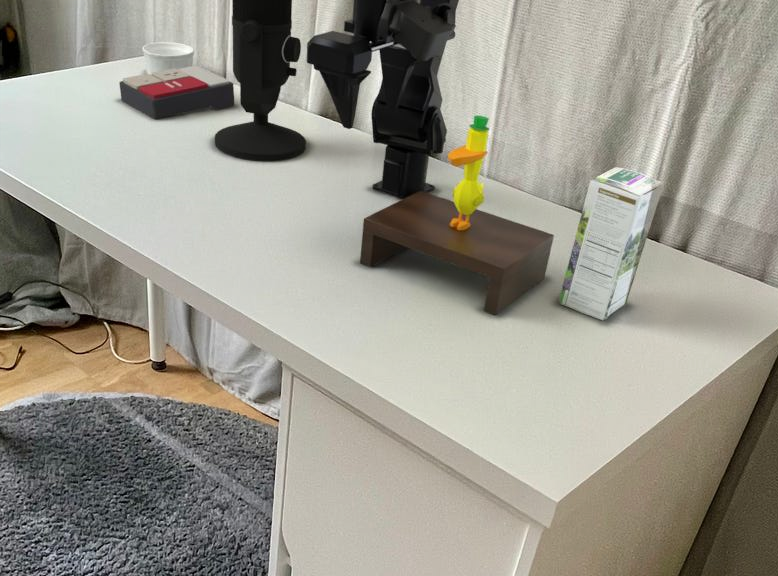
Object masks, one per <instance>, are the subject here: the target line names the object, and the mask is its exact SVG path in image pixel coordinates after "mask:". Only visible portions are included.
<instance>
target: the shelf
mask: <svg viewBox="0 0 778 576" xmlns="http://www.w3.org/2000/svg"><path fill="white" fill-rule="evenodd" d="M459 213H460V212H459V211H458V210H457V208H456V205H455V203H454V200H450V199H447V198H444V197H441V196H438V195H436V194H432V193H430V192H429V193H426V192H423V191H419V192H417V193H415V194H413V195H411V196H409V197H407V198H405V199H400V200H398V201H396V202H394V203H393V204H391V205H388V206H386V207H384V208H382V209H380V210H378V211H376V212H374V213H372V214H370V215H368V216H366V217H364V218H363V224H362V235H361V248H360V258H359V264H361V265H363V266H367V267H369V268H371V267H374V266H375V265H377V264H378V263H381V262H383V261H384V260H386V259H388V258H389V257H392V256H393V255H395V254H396V253H398V252H400V251H402V250H403V249H405V248H408V249H411V250H414V251H416V252H419V253H422V254H424V255H427V256H430V257H433V258H436V259H439V260H441V261H444V262H446V263H449V264H452V265H455V266H458V267H459V268H463V269H466V270H468V271H471V272H474V273H477V274H479V275H482V276H484V277H487V278H489V279H488V284H487V291H486V296H485V301H484V306H483V311H484V312H485V313H488V314H491V315H493V316H497V315H498V314H499V313H501V312H502V311H503V310H505V309H506V308H507V307H508V306H510V305H511V304H513V303H514V302H515V301H516V300H518V299H519V298H521V297H522V296H524V294H526V293H527V292H529V291H530V290H531V289H533V288H535V286H537V285H539V283H541V282H542V281H543V280H545V277H546V272H547V268H548V264H549V260H550V254H551V251H552V246H553V242H554V238H555V234H552V233H549V232H546V231H544V230H541V229H538V228H534V227H532V226H529V225H526V224H522V223H519V222H516V221H514V220H510V219H508V218H504V217H501V216H498V215H495V214H493V213H489V212H486V211H484V210H480V209H478V208H476V209H475V210H474V212H473V213H472V214H470V216H469V223H470V224H471V225H470V227H468V228H467V229H465V230H458V229H457V227H451V226H450V223H451V221H452V219H453V218H459ZM462 219H463V220H464V221H465V220H466V215H465V214H463V215H462Z"/></svg>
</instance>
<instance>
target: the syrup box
mask: <svg viewBox="0 0 778 576" xmlns="http://www.w3.org/2000/svg"><path fill="white" fill-rule="evenodd" d="M663 187H664V183H663V182H662V181H659V180H658V179H655V178H654V177H651V176H649V175H646V174H644V173H641V172H639V171H635V170H631V169H627V168H623V167H617V166H615V167H613V168H611V169H609V170H607V171H606V172H604V173H601V174H600V175H598V176H595V177H593V178H592V179H590V181H589V184H588V188H587V192H586V195H585V200H584V204H583V206H582V211H581V214H580V218H579V219H580V220H579V222H578V226H577V230H576V234H575V238H574V241H573V245H572V249H571V252H570V257H569V260H568V264H567V268H566V272H565V276H564V280H563V282H562V286H561V287H562V288H561V291H560V294H559V298H558V304H560V305H562V306H565V307H567V308H570V309H572V310H574V311H577V312H579V313H582V314H584V315H587V316H590V317H593V318H595V319H598V320H601V321H605V320H607V319H608V318H610V317H611V316H612V315H613V314H615V313H616V312H617V311H619V310H620V309H621V308H623V307H624V306H625V305H627V302H628V300H629V296H630V293H631V289H632V286H633V283H634V280H635V276H636V273H637V270H638V267H639V265H640V261H641V258H642V256H643V255H642V254H643V251H644V248H645V245H646V242H647V238H648V235H649V233H650V229H651V226H652V222H653V219H654V216H655V213H656V210H657V206H658V203H659V201H660V197H661V194H662V190H663Z"/></svg>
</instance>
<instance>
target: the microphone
mask: <svg viewBox="0 0 778 576" xmlns="http://www.w3.org/2000/svg"><path fill="white" fill-rule="evenodd" d="M231 1H232V16H231V25H232V72H233V75H234V78H235V79H236V81H237V82H238V84H240V85H239V86H240V87H239V88H240V91H239V96H240V97H239V98H240V99H239V101H240V106H241V108H242V109H243V110H244V111H245V112H246V113H248V114H253V121H248V122H243V123H239V124H233V125H229V126H227V127H223V128H222V129H220V130H218V131H217V132H216V133H215V135H214V145H215V147H216V148H217V149H218V150H219V151H220V152H221V153H223V154H225V155H227V156H230V157H233V158H237V159H241V160H248V161H256V162H258V161H259V162H277V161H283V160H289V159H293V158H296V157H298V156H300V155H302V154H303V153H304V152H305V150H306V149H307V140H306V138H305V136H304V135H302V134H301V133H300V132H298V131H296V130H294V129H291V128H289V127H286V126H282V125H279V124H276V123H273V122H269V114H270V113H271V112H272V111H273V110H274V109H275V108H276V106H277V103H278V100H279V97H280V94H281V90H282V86H284V85H286V83H287V82H288V80H289V78H290V77H296V76H297V68H296V67H291V63H298V62H299V60H300V57H301V51H302V44H301V42H302V41H301V39H300V38H299V37H296V36H292V29H293V28H292V27H293V20H292V12H293V10H292V9H293V0H231Z"/></svg>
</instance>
